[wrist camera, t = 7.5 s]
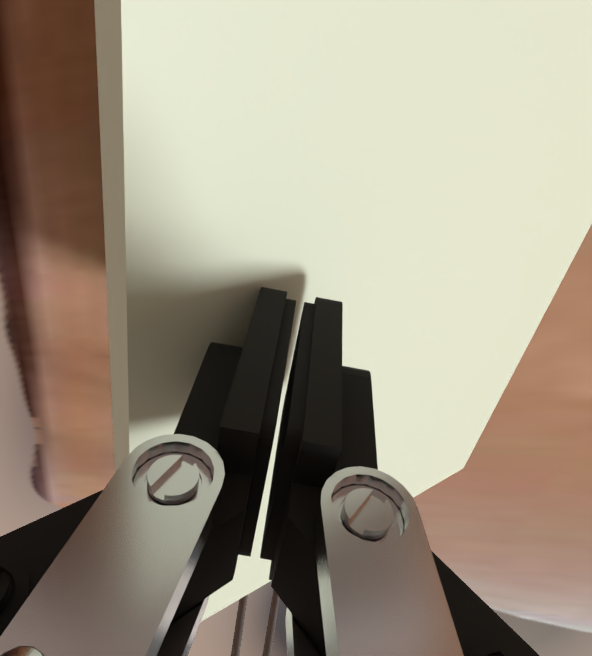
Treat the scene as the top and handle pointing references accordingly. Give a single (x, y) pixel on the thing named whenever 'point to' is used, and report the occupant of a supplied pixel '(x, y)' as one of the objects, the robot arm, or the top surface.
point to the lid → (341, 201)
